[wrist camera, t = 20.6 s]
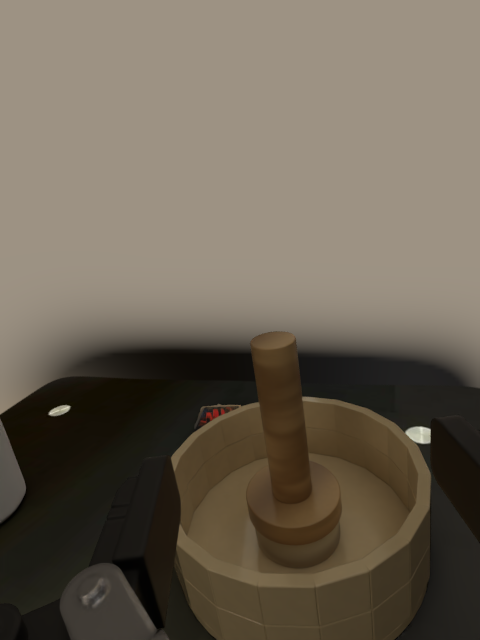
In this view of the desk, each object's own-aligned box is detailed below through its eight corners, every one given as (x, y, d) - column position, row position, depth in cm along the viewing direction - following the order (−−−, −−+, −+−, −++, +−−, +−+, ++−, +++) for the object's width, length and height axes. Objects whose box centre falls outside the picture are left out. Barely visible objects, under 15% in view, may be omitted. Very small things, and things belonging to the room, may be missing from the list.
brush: (360, 521, 23) (348, 328, 19) (310, 592, 20) (283, 372, 16) (288, 485, 27) (265, 316, 23) (234, 540, 23) (197, 350, 19)
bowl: (467, 509, 23) (470, 437, 22) (344, 766, 14) (333, 673, 13) (277, 433, 33) (270, 380, 32) (130, 556, 24) (109, 488, 22)
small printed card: (194, 441, 34) (193, 436, 33) (195, 410, 38) (194, 405, 38) (249, 431, 34) (249, 426, 34) (243, 401, 39) (242, 397, 39)
